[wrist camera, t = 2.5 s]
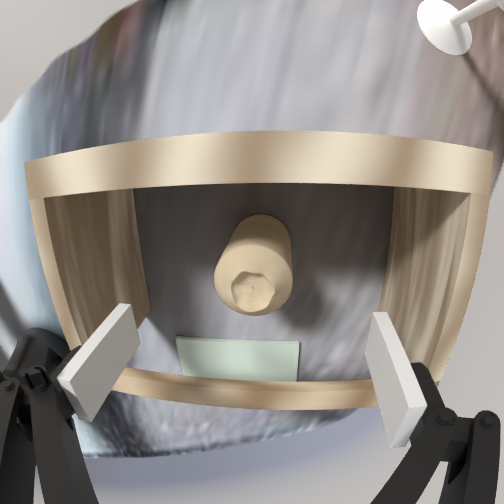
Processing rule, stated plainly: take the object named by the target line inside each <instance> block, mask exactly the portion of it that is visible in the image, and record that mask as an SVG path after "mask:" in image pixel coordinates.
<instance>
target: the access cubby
mask: <svg viewBox="0 0 504 504" xmlns="http://www.w3.org/2000/svg"><path fill="white" fill-rule="evenodd" d="M24 164H25V173H26V182H27V189H28V196H29V203H30V209H31V215H32V220H33V225H34V231H35V235H36V240H37V245H38V249H39V253H40V257H41V261H42V265H43V269H44V273H45V277H46V280H47V284H48V287H49V290H50V294H51V297H52V300H53V303H54V306H55V310H56V313H57V315H58V318H59V321H60V324H61V327H62V330H63V332H64V335H65V338H66V340H67V343H68V345H69V348H70V350H73V349H74V348H76V347H77V346H79V345H81V346H83V345H84V344H85V342H86V341H87V340H88V339H89V338H90V337H91V335H92V334H93V333H94V332H95V331H96V330H97V328H98V327H99V326H100V325H101V324H102V323H103V322H104V320H105V319H106V318H107V317H108V316H109V315H110V314H111V312H112V311H113V310H114V309H115V308H116V307H117V306H118V305H119V303H122V304H131V307H132V311H133V315H134V319H135V323H136V327H137V329H138V328H139V326H140V325H141V323H142V322H143V320H144V319H145V318H146V316H147V315H148V313H149V312H150V310H151V304H150V299H149V294H148V289H147V284H146V278H145V272H144V267H143V261H142V254H141V248H140V241H139V234H138V227H137V220H136V212H135V203H134V194H133V188H145V187H159V186H177V185H197V184H225V183H333V184H361V185H381V186H394V200H393V212H392V223H391V233H390V241H389V250H388V257H387V265H386V272H385V278H384V285H383V291H382V297H381V302H380V308H379V312H387V314H388V316H389V318H390V320H391V322H392V324H393V326H394V329H395V331H396V333H397V335H398V337H399V339H400V342H401V344H402V346H403V348H404V351H405V353H406V355H407V357H408V360H409V362H410V363H416V362H421V363H422V364H424V365H425V366H426V367H427V368H428V370H429V372H430V374H431V376H432V378H433V380H434V383H435V385H436V387H437V386H438V384H439V382H440V380H441V377H442V375H443V372H444V370H445V368H446V365H447V363H448V360H449V358H450V355H451V352H452V350H453V347H454V345H455V342H456V339H457V336H458V334H459V330H460V328H461V325H462V322H463V318H464V315H465V312H466V309H467V305H468V302H469V299H470V295H471V292H472V288H473V284H474V280H475V276H476V272H477V268H478V263H479V259H480V254H481V249H482V244H483V238H484V233H485V227H486V221H487V214H488V207H489V199H490V190H491V179H492V166H493V152H492V151H487V150H482V149H477V148H472V147H467V146H461V145H456V144H450V143H443V142H437V141H430V140H423V139H415V138H407V137H398V136H388V135H377V134H365V133H350V132H330V131H240V132H220V133H204V134H192V135H180V136H170V137H161V138H153V139H144V140H137V141H130V142H123V143H116V144H110V145H104V146H98V147H93V148H87V149H82V150H77V151H72V152H67V153H62V154H58V155H53V156H49V157H45V158H40V159H36V160H32V161H28V162H25V163H24ZM111 390H114V391H119V392H123V393H128V394H133V395H139V396H144V397H150V398H156V399H162V400H169V401H175V402H183V403H191V404H199V405H209V406H219V407H231V408H246V409H268V410H326V409H347V408H361V407H374V406H379V405H378V401H377V397H376V393H375V389H374V385H373V381H372V379H367V380H349V381H321V382H277V381H249V380H231V379H217V378H205V377H195V376H185V375H176V374H168V373H160V372H153V371H146V370H140V369H133V368H127V367H125V369H124V370H123V372H122V373H121V375H120V376H119V378H118V380H117V381H116V383H115V385H114V386H113V388H112V389H111Z"/></svg>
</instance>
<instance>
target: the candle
mask: <svg viewBox="0 0 504 504" xmlns="http://www.w3.org/2000/svg"><path fill="white" fill-rule="evenodd" d="M214 284H215V289H216V291H217V293H218V295H219V297H220V298H221V300H222V301H223V302H224V303H225V304H226V305H227V306H228V307H229V308H231V309H232V310H234V311H236V312H239V313H241V314H245V315H250V316H261V315H266V314H269V313H272V312H274V311H276V310H277V309H279V308H280V307H281V306H282V305H283V304H284V303H285V302H286V301H287V300H288V298H289V296H290V294H291V291H292V287H293V273H292V255H291V241H290V236H289V233H288V231H287V229H286V227H285V226H284V225H283V224H282V223H281V222H280V221H279V220H278V219H276V218H274V217H272V216H269V215H264V214H258V215H253V216H250V217H248V218H246V219H244V220H243V221H241V222H240V223H239V224H238V226H237V227H236V229H235V230H234V232H233V234H232V236H231V238H230V240H229V242H228V244H227V246H226V248H225V250H224V252H223V254H222V256H221V258H220V260H219V262H218V264H217V266H216V269H215V273H214Z"/></svg>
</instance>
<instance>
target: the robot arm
mask: <svg viewBox="0 0 504 504" xmlns="http://www.w3.org/2000/svg"><path fill="white" fill-rule="evenodd" d="M139 345H140V339H139V335H138V331H137V327H136V323H135V319H134V315H133V311H132V307H131V304H122V303H119V305H118V306H117V307H116V308H115V309H114V310H113V311H112V312H111V314H110V315H109V316H108V317H107V318H106V319H105V320H104V322H103V323H102V324H101V325H100V326H99V327H98V328H97V330H96V331H95V332H94V333H93V334H92V335H91V337H90V338H89V339H88V340H87V341H86V342H85V344H84V345H83V346H81V345H79V346H77V347H76V348H74V349H73V350H70V348H69V345H68V344H67V343H66V342H64V341H63V340H62V339H60V338H59V337H58V336H56V335H54V334H53V333H51V332H49V331H46V330H44V329H40V328H32V329H29V330H28V331H26V332H25V333H24V334H23V335H22V336H21V337H20V338H19V340H18V342H17V345H16V348H15V350H14V352H13V354H12V356H11V358H10V360H9V363H8V365H7V367H6V369H5V370H4V371H3V372H2V373H1V371H0V504H33V497H34V478H35V466H36V465H37V468H38V473H39V478H40V483H41V489H42V493H43V497H44V502H45V504H99V503H98V500H97V497H96V495H95V492H94V490H93V486H92V484H91V481H90V478H89V475H88V471H87V468H86V465H85V462H84V458H83V455H82V451H81V448H80V444H79V440H78V437H77V433H76V428H75V424H74V420H73V418H72V415H73V414H74V413H76V415H77V416H78V418H79V419H82V420H85V421H88V422H92V421H93V419H94V417H95V416H96V414H97V412H98V411H99V409H100V407H101V406H102V404H103V402H104V401H105V399H106V398H107V396H108V394H109V393H110V391H111V389H112V388H113V386H114V385H115V383H116V381H117V380H118V378H119V376H120V375H121V373H122V372H123V370H124V369H125V367H126V365H127V364H128V362H129V361H130V359H131V357H132V356H133V354H134V353H135V351H136V350H137V348H138V347H139ZM365 356H366V360H367V363H368V367H369V370H370V374H371V378H372V381H373V385H374V389H375V393H376V397H377V401H378V405H379V409H380V413H381V417H382V421H383V425H384V430H385V434H386V438H387V443H388V448H389V449H391V448H397V447H404V446H406V444H407V442H408V441H409V439H410V441H411V447H410V449H409V450H408V452H407V454H406V455H405V457H404V458H403V460H402V461H401V463H400V464H399V466H398V467H397V469H396V470H395V471H394V473H393V474H392V476H391V477H390V479H389V480H388V481H387V483H386V484H385V485H384V487H383V488H382V490H381V491H380V492H379V493H378V495H377V496H376V497H375V498H374V500H373V501H372V502H371V503H370V504H416V502H417V500H418V499H419V498H420V496H421V494H422V493H423V491H424V489H425V488H426V486H427V484H428V482H429V481H430V479H431V477H432V475H433V474H434V472H435V470H436V468H437V466H438V464H439V462H440V461H446V462H448V467H447V472H446V476H445V480H444V484H443V488H442V492H441V496H440V500H439V503H438V504H495V497H496V490H497V481H498V471H499V458H500V419H499V418H498V416H497V415H496V414H495V413H493V412H491V411H481V412H479V413H478V414H477V415H476V416H475V418H462V417H457V415H456V413H455V412H454V411H453V410H451V409H449V408H446V407H445V405H444V403H443V401H442V398H441V396H440V394H439V391H438V389H437V387H436V385H435V383H434V380H433V378H432V376H431V374H430V372H429V370H428V368H427V367H426V366H425V365H424V364H422V363H421V362H416V363H410V362H409V360H408V357H407V355H406V353H405V351H404V348H403V346H402V344H401V342H400V339H399V337H398V335H397V333H396V331H395V329H394V326H393V324H392V322H391V320H390V318H389V316H388V314H387V312H373V315H372V320H371V326H370V331H369V335H368V340H367V345H366V350H365Z"/></svg>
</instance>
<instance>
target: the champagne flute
mask: <svg viewBox="0 0 504 504" xmlns="http://www.w3.org/2000/svg"><path fill="white" fill-rule="evenodd" d="M498 6H499V7H500V8H501V9H502V10H504V0H478V1H476V2H474V3H472V4H471V5H469V6H467V7H466V8H464V9H462V10H460V11H458V10H457V9H456V8H455V7H453V6H452V5H450V4H449V3H447V2H445V1H442V0H425V1H423V2H422V3H421V4H420V6H419V8H418V12H417V18H418V22H419V25H420V28H421V30H422V32H423V33H424V35H425V36H426V37H427V39H428V40H429V41H430V42H431V43H432V44H433V45H434V46H435V47H437V48H438V49H439V50H441V51H443V52H444V53H447V54H450V55H462V54H464V53H466V52H467V51H468V50H469V49H470V46H471V42H472V35H471V31H470V28H469V25H468V23H467V21H469V20H471V19H473V18H475V17H477V16H479V15H481V14H483V13H485V12H487V11H489V10H491V9H494V8H496V7H498Z"/></svg>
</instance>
